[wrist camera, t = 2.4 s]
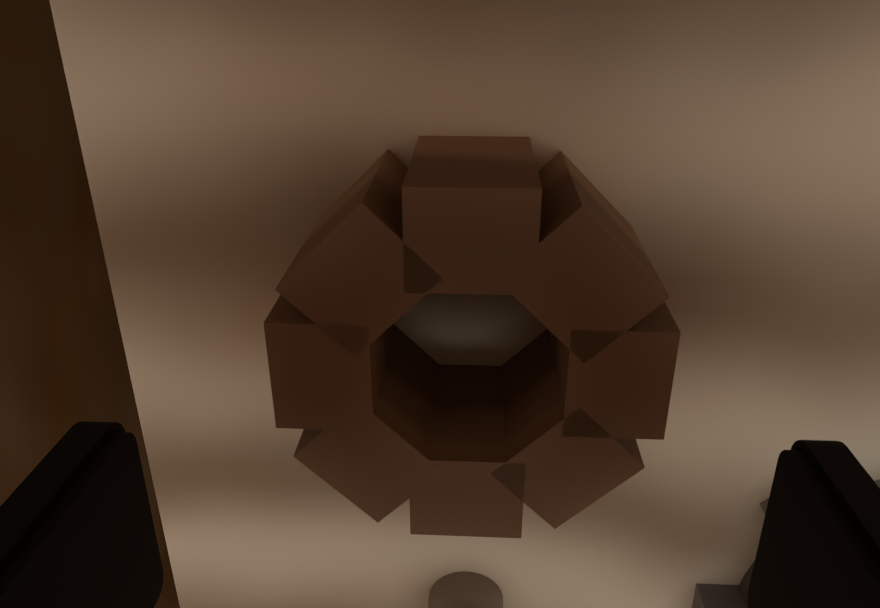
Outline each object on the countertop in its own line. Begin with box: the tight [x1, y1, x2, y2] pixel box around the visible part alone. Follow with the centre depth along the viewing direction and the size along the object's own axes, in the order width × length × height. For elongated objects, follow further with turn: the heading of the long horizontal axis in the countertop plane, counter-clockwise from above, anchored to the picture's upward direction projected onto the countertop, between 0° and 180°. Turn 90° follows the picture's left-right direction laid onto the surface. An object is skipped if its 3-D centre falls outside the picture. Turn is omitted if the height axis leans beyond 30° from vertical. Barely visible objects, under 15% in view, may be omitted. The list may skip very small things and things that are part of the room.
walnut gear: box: [264, 136, 681, 538], centre depth 14 cm, size 7×7×4 cm
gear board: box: [49, 0, 880, 608], centre depth 17 cm, size 24×30×6 cm
